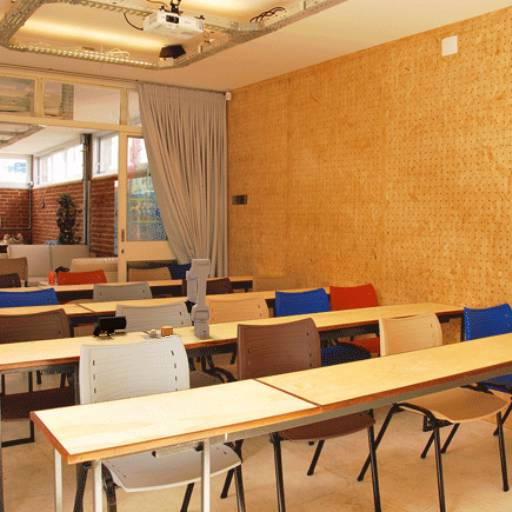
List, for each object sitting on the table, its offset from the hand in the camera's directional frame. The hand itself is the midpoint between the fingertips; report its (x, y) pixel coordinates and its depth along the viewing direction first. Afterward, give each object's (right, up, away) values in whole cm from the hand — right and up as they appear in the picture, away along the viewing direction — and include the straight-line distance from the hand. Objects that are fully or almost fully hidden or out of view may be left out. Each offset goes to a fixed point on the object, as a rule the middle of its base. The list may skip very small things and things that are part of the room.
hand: (192, 313), depth 378 cm
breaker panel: (-15, -11, -23) cm, 30 cm away
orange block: (-12, -10, -22) cm, 27 cm away
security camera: (-45, -11, -16) cm, 49 cm away
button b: (-19, -9, -25) cm, 33 cm away
